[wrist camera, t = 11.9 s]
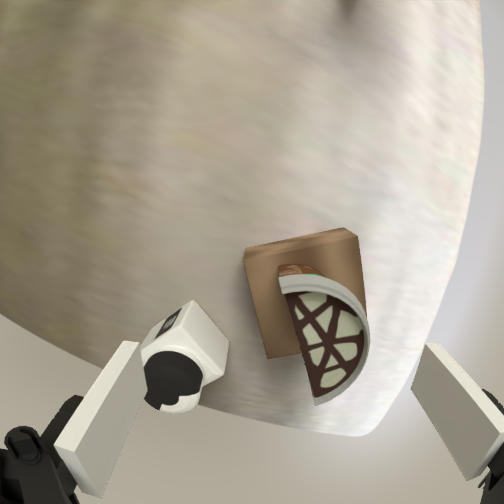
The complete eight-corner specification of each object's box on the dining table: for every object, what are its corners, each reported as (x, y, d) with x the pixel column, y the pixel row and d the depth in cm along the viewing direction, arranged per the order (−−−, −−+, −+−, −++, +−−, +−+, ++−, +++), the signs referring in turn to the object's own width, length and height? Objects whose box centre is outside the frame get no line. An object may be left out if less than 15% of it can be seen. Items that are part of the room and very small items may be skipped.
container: (151, 327, 40) (115, 382, 27) (193, 297, 39) (166, 351, 26) (188, 367, 41) (166, 430, 29) (231, 341, 40) (220, 406, 28)
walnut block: (266, 334, 40) (267, 359, 35) (245, 247, 38) (243, 260, 32) (354, 314, 39) (368, 336, 34) (343, 226, 37) (357, 236, 31)
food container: (354, 336, 34) (382, 389, 24) (303, 352, 34) (316, 410, 25) (332, 234, 31) (362, 261, 21) (273, 252, 32) (279, 286, 22)
